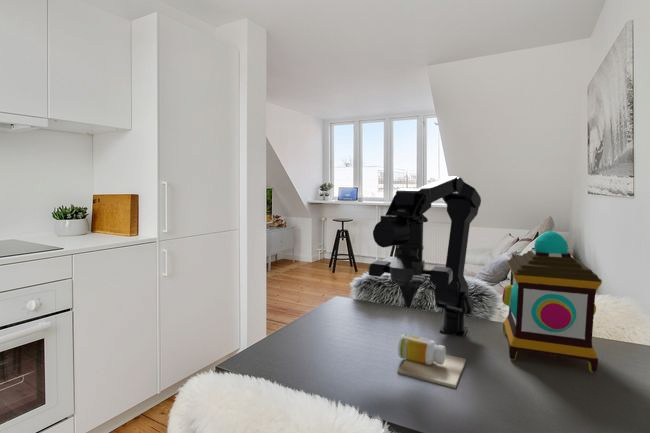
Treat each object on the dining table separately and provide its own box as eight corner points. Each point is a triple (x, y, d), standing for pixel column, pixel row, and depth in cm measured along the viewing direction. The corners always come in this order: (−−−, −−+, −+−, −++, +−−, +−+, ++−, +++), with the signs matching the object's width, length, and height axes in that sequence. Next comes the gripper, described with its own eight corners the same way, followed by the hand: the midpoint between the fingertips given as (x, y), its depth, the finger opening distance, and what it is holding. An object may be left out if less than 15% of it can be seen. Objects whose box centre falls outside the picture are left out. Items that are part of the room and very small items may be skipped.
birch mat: (414, 350, 92) (414, 347, 92) (465, 361, 86) (465, 359, 86) (397, 372, 81) (397, 370, 81) (455, 388, 75) (455, 385, 75)
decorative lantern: (607, 379, 79) (617, 239, 76) (503, 362, 86) (510, 233, 83) (580, 342, 97) (587, 228, 95) (497, 331, 104) (502, 225, 102)
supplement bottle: (398, 362, 85) (441, 373, 81) (396, 343, 84) (440, 353, 79) (405, 347, 90) (446, 357, 85) (404, 329, 88) (446, 338, 83)
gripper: (359, 244, 84) (359, 311, 85) (444, 251, 75) (442, 326, 77) (377, 237, 94) (376, 298, 95) (454, 243, 85) (452, 309, 86)
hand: (408, 307), depth 88 cm, fingers closed
